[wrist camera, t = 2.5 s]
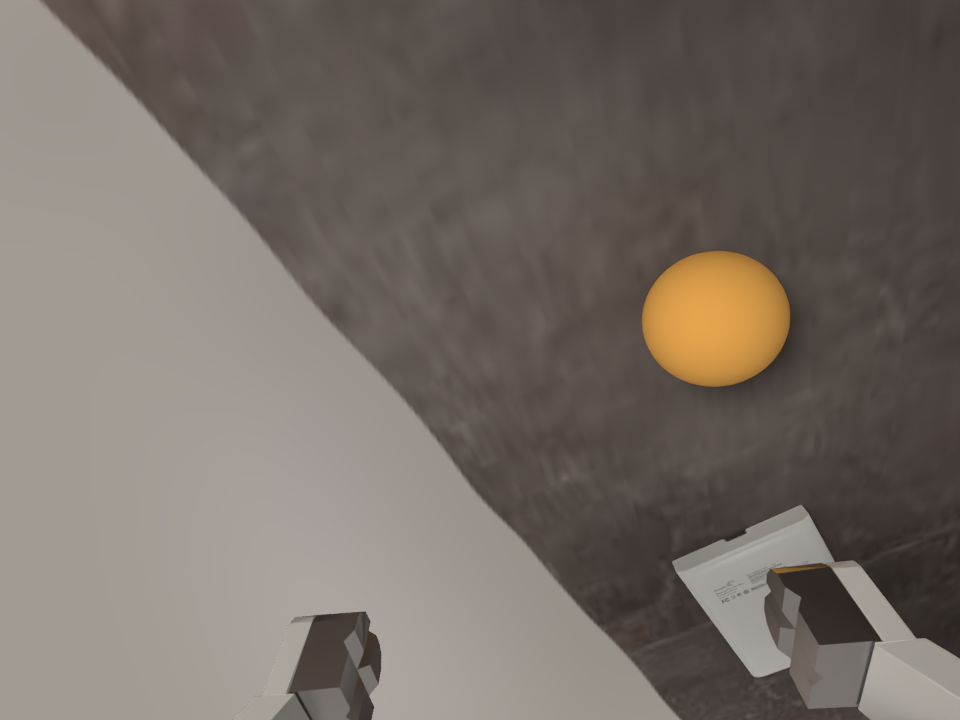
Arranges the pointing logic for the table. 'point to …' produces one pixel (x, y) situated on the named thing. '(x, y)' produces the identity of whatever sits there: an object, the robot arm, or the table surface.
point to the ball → (716, 318)
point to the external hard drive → (751, 581)
